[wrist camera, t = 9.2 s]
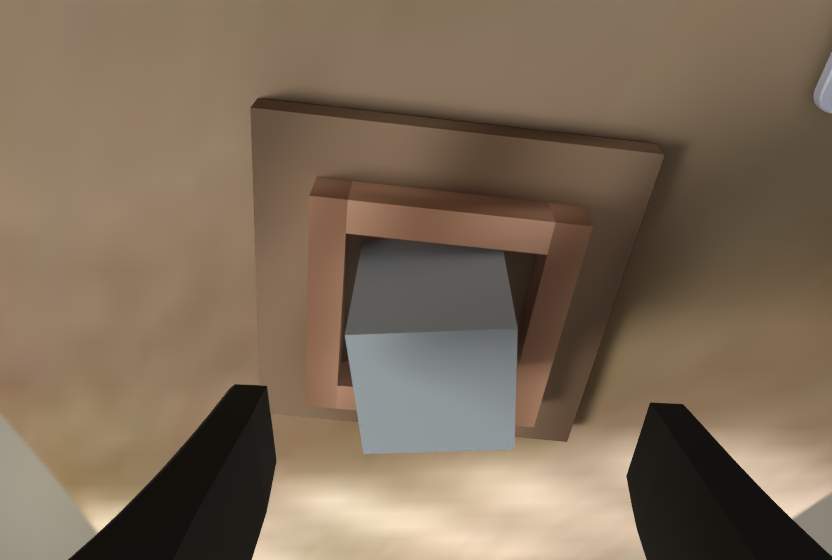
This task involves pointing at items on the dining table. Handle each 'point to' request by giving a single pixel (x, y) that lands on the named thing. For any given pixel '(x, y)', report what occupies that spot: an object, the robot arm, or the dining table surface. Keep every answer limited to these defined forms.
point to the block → (432, 348)
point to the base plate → (438, 240)
